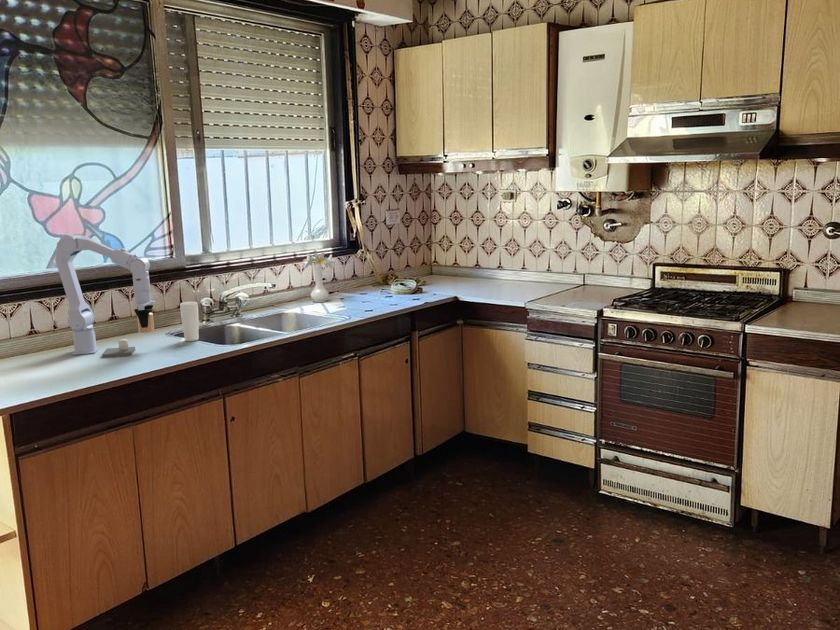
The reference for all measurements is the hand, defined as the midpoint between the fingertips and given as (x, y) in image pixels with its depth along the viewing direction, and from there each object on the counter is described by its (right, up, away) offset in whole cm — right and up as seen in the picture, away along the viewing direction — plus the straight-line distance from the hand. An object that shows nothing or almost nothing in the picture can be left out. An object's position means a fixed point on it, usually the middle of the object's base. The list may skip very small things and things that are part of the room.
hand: (145, 325), depth 278 cm
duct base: (-9, -10, -2) cm, 14 cm away
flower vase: (+52, +11, +101) cm, 114 cm away
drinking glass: (+12, -6, +18) cm, 22 cm away
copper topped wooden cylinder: (0, -2, 0) cm, 2 cm away
